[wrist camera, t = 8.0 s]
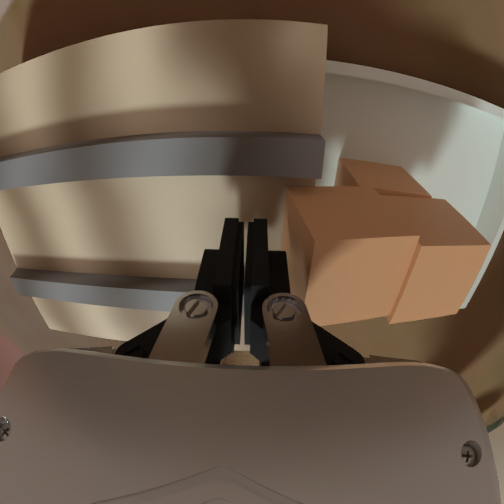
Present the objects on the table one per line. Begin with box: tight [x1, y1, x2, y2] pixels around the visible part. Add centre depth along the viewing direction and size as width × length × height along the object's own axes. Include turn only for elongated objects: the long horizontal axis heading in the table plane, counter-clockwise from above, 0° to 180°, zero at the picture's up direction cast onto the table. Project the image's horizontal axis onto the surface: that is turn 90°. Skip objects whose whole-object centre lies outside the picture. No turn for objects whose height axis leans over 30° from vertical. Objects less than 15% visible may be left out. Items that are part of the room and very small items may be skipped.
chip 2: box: [281, 186, 420, 326], centre depth 12 cm, size 4×4×4 cm
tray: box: [315, 60, 504, 309], centre depth 16 cm, size 15×15×3 cm
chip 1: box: [334, 158, 432, 198], centre depth 15 cm, size 4×4×4 cm
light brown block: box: [381, 195, 491, 324], centre depth 12 cm, size 4×4×4 cm
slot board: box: [0, 19, 328, 351], centre depth 15 cm, size 18×18×6 cm
